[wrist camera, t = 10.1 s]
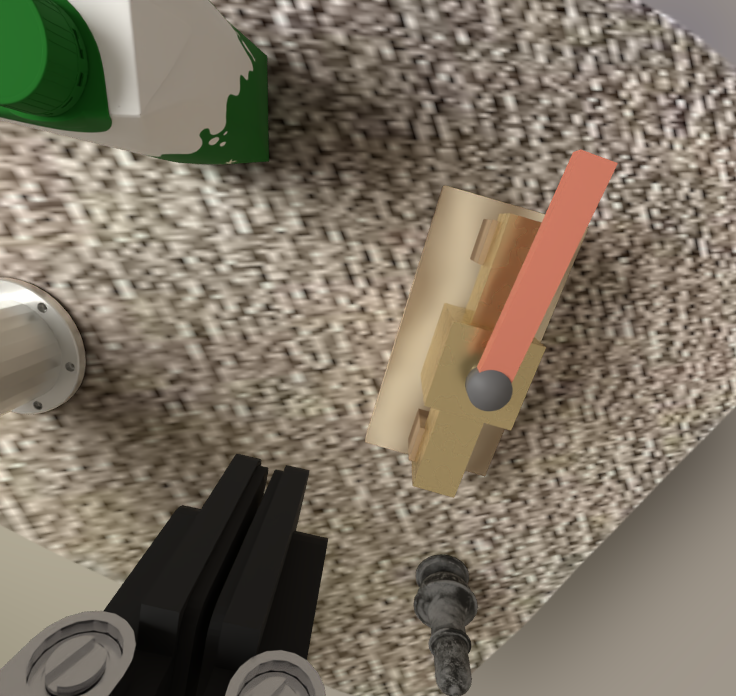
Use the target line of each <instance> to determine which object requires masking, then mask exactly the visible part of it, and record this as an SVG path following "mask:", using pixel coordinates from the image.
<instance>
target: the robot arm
mask: <svg viewBox="0 0 736 696" xmlns="http://www.w3.org/2000/svg"><path fill="white" fill-rule="evenodd" d="M85 366H86V358H85V349H84V345H83V341H82V338H81V335H80V333H79V331H78V329H77V326H76V325H75V323H74V321H73V320H72V318H71V317H70V315H69V314H68V313H67V311H66V310H65V309H64V308H63V307H62V306H61V305H60V304H59V303H58V302H57V301H56V300H55V299H54V298H52V297H51V296H50V295H49V294H48V293H46V292H45V291H43V290H41V289H39V288H38V287H36V286H34V285H32V284H29V283H27V282H24V281H21V280H17V279H12V278H0V416H2V415H4V414H6V413H8V412H14V413H20V414H38V413H43V412H47V411H49V410H52V409H54V408H56V407H58V406H60V405H61V404H63V403H65V402H67V401H68V400H69V399H70V398H71V397H72V396H73V395H74V394H75V393H76V391H77V390H78V388H79V387H80V385H81V382H82V380H83V377H84V373H85ZM267 475H268V468H267V467H263V466H261V459H258V458H254V457H249V456H245V455H241V454H236V455H235V457H234V458H233V460H232V461H231V463H230V465H229V466H228V468H227V469H226V471H225V472H224V474H223V476H222V477H221V479H220V480H219V482H218V484H217V485H216V487H215V488H214V490H213V491H212V493H211V495H210V496H209V498H208V499H207V501H206V502H205V504H204V506H203V507H202V509H197V508H193V507H188V506H184V505H182V506H180V507H178V509H177V510H176V511H175V512H174V514H173V515H172V516H171V518H170V519H169V521H168V522H167V523H166V525H165V526H164V527H163V529H162V530H161V532H160V533H159V534H158V536H157V537H156V539H155V540H154V541H153V543H152V544H151V546H150V547H149V548H148V550H147V551H146V553H145V554H144V555H143V557H142V558H141V559H140V561H139V562H138V564H137V565H136V566H135V568H134V569H133V571H132V572H131V573H130V575H129V576H128V578H127V579H126V580H125V582H124V583H123V584H122V586H121V587H120V589H119V590H118V591H117V593H116V594H115V596H114V597H113V598H112V600H111V601H110V603H109V604H108V605H107V607H106V608H105V610H104V611H90V612H82V613H78V614H75V615H71V616H68V617H65V618H63V619H61V620H59V621H57V622H55V623H53V624H51V625H49V626H48V627H46V628H45V629H44V630H43V631H41V632H40V633H39V634H38V635H36V636H35V637H34V638H33V639H32V640H30V641H29V643H27V644H26V645H25V646H24V647H23V648H22V649H21V650H20V651H19V652H18V653H17V654H16V655H15V656H14V657H13V658H12V659H11V660H10V661H9V662H8V663H7V664H5V666H3V667H2V668H1V669H0V696H326V694H325V688H324V684H323V682H322V680H321V678H320V676H319V674H318V672H317V671H316V670H315V668H314V667H313V666H312V665H311V664H310V663H309V662H308V661H307V655H308V649H309V644H310V638H311V633H312V627H313V621H314V616H315V610H316V605H317V599H318V593H319V588H320V582H321V577H322V571H323V565H324V560H325V554H326V549H327V543H328V538H324V537H320V536H315V535H311V534H307V533H302V532H298V531H296V528H297V524H298V519H299V515H300V511H301V506H302V502H303V498H304V493H305V489H306V485H307V480H308V476H309V470H305V469H301V468H296V467H292V466H288V465H286V467H285V469H284V471H280V470H275V471H274V473H273V475H272V478H271V480H270V482H269V485H268V487H267V489H266V491H265V494H264V490H265V485H266V480H267ZM263 495H264V496H263Z"/></svg>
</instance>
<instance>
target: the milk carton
mask: <svg viewBox="0 0 736 696" xmlns="http://www.w3.org/2000/svg"><path fill="white" fill-rule="evenodd" d="M0 120H2V121H6V122H10V123H14V124H18V125H22V126H27V127H31V128H35V129H39V130H43V131H47V132H51V133H56V134H60V135H64V136H68V137H72V138H76V139H80V140H84V141H88V142H92V143H96V144H100V145H104V146H109V147H113V148H117V149H121V150H125V151H130V152H134V153H138V154H142V155H147V156H151V157H155V158H159V159H163V160H168V161H172V162H178V163H192V164H237V163H252V162H269V133H268V79H267V55H265V54H264V53H263V52H262V51H261V50H260V49H259V48H257V47H256V46H255V45H254V44H253V43H252V42H251V41H250V40H249V39H247V38H246V37H245V36H244V35H243V34H242V33H241V32H240V31H238V30H237V29H236V28H235V27H234V26H233V25H232V24H231V23H229V22H228V21H227V20H226V19H225V18H224V17H223V15H222V14H221V13H220V12H219V11H218V10H217V9H216V8H215V6H214V5H213V4H212V3H211V2H210V1H209V0H0Z"/></svg>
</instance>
